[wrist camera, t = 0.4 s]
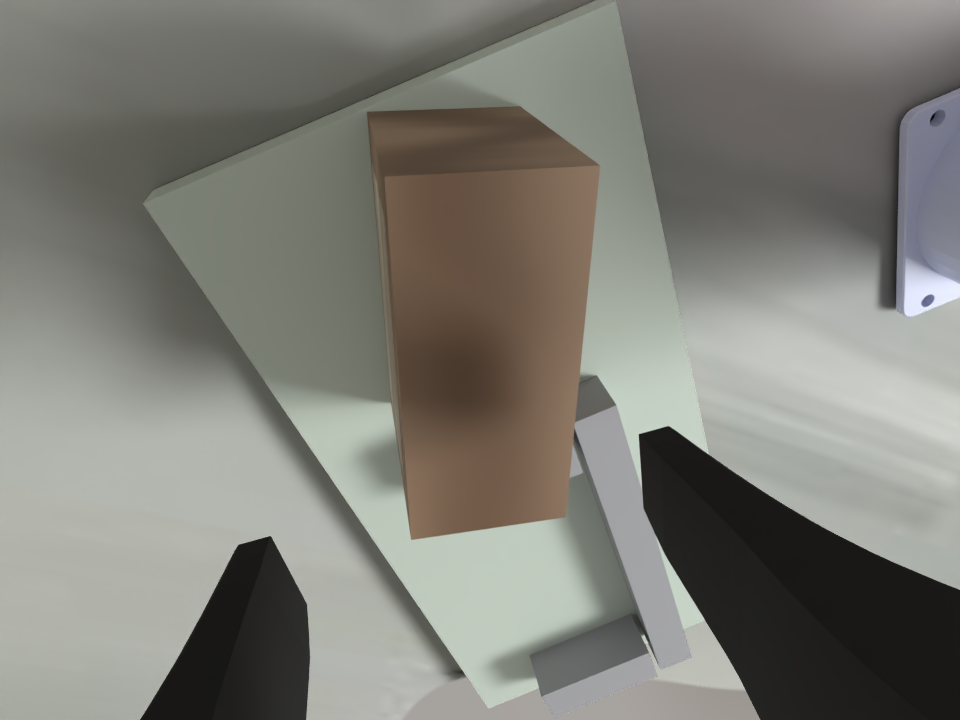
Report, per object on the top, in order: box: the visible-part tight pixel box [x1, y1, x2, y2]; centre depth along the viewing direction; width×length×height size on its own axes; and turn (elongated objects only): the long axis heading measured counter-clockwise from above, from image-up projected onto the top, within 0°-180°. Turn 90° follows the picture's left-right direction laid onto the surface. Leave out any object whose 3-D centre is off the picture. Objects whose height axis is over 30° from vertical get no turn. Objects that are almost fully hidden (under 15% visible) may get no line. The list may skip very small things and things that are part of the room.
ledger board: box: [143, 0, 709, 718], centre depth 23 cm, size 13×27×3 cm, turn 20°
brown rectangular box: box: [367, 106, 600, 540], centre depth 17 cm, size 4×9×6 cm, turn 0°
